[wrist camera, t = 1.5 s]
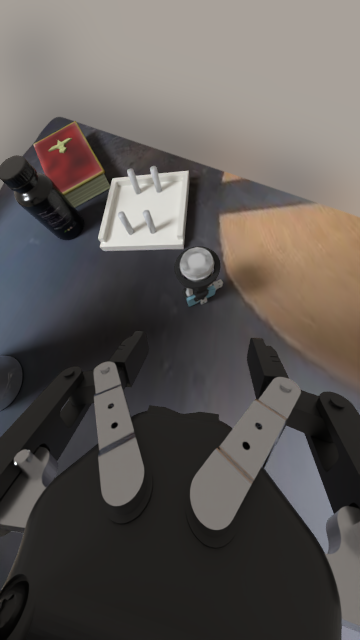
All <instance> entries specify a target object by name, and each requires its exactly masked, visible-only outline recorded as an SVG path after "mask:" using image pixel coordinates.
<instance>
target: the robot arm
mask: <svg viewBox="0 0 360 640" xmlns="http://www.w3.org/2000/svg"><path fill="white" fill-rule="evenodd" d="M147 354H148V342H147V336H146V332H141V331H135V332H134V334H133V335H132V337H128V338H127V339H125V340H124V341H123V342H122V344H121V345H120V346H119V348H118V349H117V350H116V352H115V353H114V354H113V356H112V357H111V358H110V360H109V361H108V362H104V363H101V364H100V365H98V366H97V367H96V368H95V369H94V370H91V371H85V372H82V370H81V368H80V367H76V366H74V367H70V368H67V369H65V370H63V371H62V372H61V373H60V374H59V375H58V376H57V377H56V378H55V379H54V380H53V381H52V382H51V383H50V385H49V386H48V387H47V388H46V389H45V390H44V391H43V392H42V393H41V394H40V395H39V396H38V398H37V399H36V400H35V401H34V402H33V403H32V404H31V405H30V406H29V407H28V408H27V409H26V410H25V412H24V413H23V414H22V415H21V416H20V417H19V418H18V419H17V420H16V421H15V422H14V423H13V425H12V426H11V427H10V428H9V429H8V430H7V431H6V432H5V433H4V434H3V435H2V436H1V437H0V537H2V536H4V535H6V534H8V533H9V532H11V531H14V532H19V533H24V534H23V538H22V541H21V545H20V548H19V551H18V554H17V556H16V559H15V561H14V564H13V566H12V569H11V571H10V573H9V576H8V578H7V580H6V582H5V584H4V586H3V588H2V590H1V591H0V640H341V629H342V626H344V627H347V628H349V629H352V630H355V631H357V632H360V415H359V413H358V412H357V410H356V409H355V407H354V406H353V405H352V404H351V402H349V401H348V400H347V399H346V398H344V397H342V396H341V395H339V394H336V393H333V392H323V393H321V394H320V396H317V395H314V394H310V393H307V392H305V391H302V390H300V387H299V386H298V385H297V384H296V383H295V382H294V381H292V380H290V379H289V378H288V375H287V373H286V371H285V369H284V367H283V365H282V363H281V361H280V359H279V358H278V355H277V352H276V351H275V350H274V349H273V348H272V347H271V346H266V345H265V343H264V341H263V339H260V338H251V340H250V344H249V350H248V355H247V361H248V366H249V370H250V375H251V379H252V383H253V387H254V391H255V395H256V399H255V400H254V401H253V403H252V404H251V405H250V407H249V408H248V409H247V411H246V412H245V413H244V415H243V416H242V417H241V419H240V420H239V421H238V423H237V424H236V425H235V427H234V428H233V429H232V428H231V427H230V426H228V425H227V424H225V423H224V422H222V421H219V414H212V413H204V412H197V413H189V414H180V413H178V412H175V411H173V410H170V409H168V408H166V407H158V406H150V405H149V408H148V411H145V412H141V413H138V414H136V415H134V416H132V417H131V415H130V411H129V408H128V404H127V401H126V397H125V394H124V389H125V387H132V385H133V383H134V381H135V379H136V377H137V375H138V373H139V371H140V369H141V367H142V365H143V362H144V360H145V358H146V356H147ZM21 383H22V368H21V366H20V363H19V362H18V361H17V360H16V359H15V358H13V357H11V356H2V355H0V411H1V410H3V409H4V408H6V407H7V406H8V405H9V404H10V403H11V402H12V401H13V400H14V399H15V397H16V396H17V394H18V392H19V390H20V387H21ZM68 399H69V401H68V402H67V404H66V405H65V406H64V408H63V409H62V411H61V408H62V407H63V405H64V404H65V403H66V401H67V400H68ZM92 403H95V413H96V423H97V433H98V444H97V445H96V446H94V447H93V448H92V449H91V450H89V451H88V452H87V453H86V454H85V455H83V456H82V457H81V458H80V459H78V460H77V461H76V462H75V463H73V464H72V465H71V466H70V467H68V468H67V469H66V470H65V471H63V472H62V473H61V474H60V475H58V476H57V477H56V478H55V475H56V473H57V470H58V462H57V461H58V459H59V457H60V456H61V454H62V452H63V451H64V449H65V447H66V446H67V444H68V442H69V441H70V439H71V437H72V436H73V434H74V432H75V431H76V429H77V427H78V426H79V424H80V422H81V420H82V419H83V417H84V415H85V414H86V412H87V410H88V409H89V407H90V405H91V404H92ZM60 411H61V412H60ZM286 425H287V426H289V427H291V428H294V429H296V430H299V431H301V432H303V433H305V436H306V439H307V441H308V444H309V447H310V450H311V452H312V455H313V458H314V461H315V463H316V466H317V469H318V471H319V474H320V477H321V480H322V482H323V485H324V488H325V491H326V493H327V496H328V499H329V501H330V504H331V507H332V510H333V512H334V515H332V516H331V517H330V518H329V519H328V520H327V523H326V531H327V536H328V541H329V550H328V554H325V553H324V551H323V549H322V547H321V546H320V544H319V542H318V541H317V539H316V537H315V536H314V534H313V533H312V532H311V530H310V529H309V528H308V526H307V525H306V524H305V522H304V521H303V520H302V518H301V517H300V516H299V514H298V513H297V512H296V510H295V509H294V508H293V506H292V505H291V504H290V502H289V501H288V500H287V498H286V497H285V496H284V494H283V493H282V492H281V490H280V489H279V488H278V486H277V485H276V484H275V482H274V481H273V480H272V478H271V477H270V476H269V474H268V473H267V472H266V470H265V469H264V468H265V466H266V465H267V463H268V461H269V459H270V456H271V454H272V452H273V450H274V448H275V446H276V444H277V442H278V440H279V439H280V437H281V435H282V433H283V431H284V429H285V427H286Z"/></svg>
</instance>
